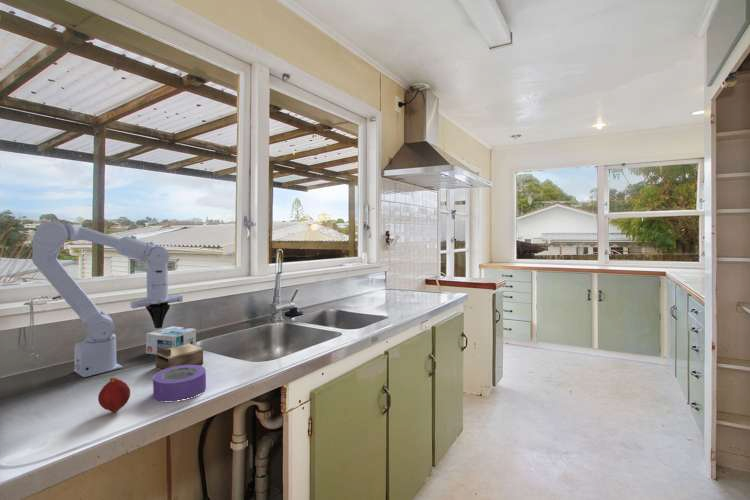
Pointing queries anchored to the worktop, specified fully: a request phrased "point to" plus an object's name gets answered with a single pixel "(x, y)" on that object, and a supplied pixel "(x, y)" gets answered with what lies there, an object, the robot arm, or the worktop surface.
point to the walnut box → (179, 360)
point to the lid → (177, 351)
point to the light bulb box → (169, 338)
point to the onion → (114, 395)
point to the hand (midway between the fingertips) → (158, 327)
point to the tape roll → (179, 382)
